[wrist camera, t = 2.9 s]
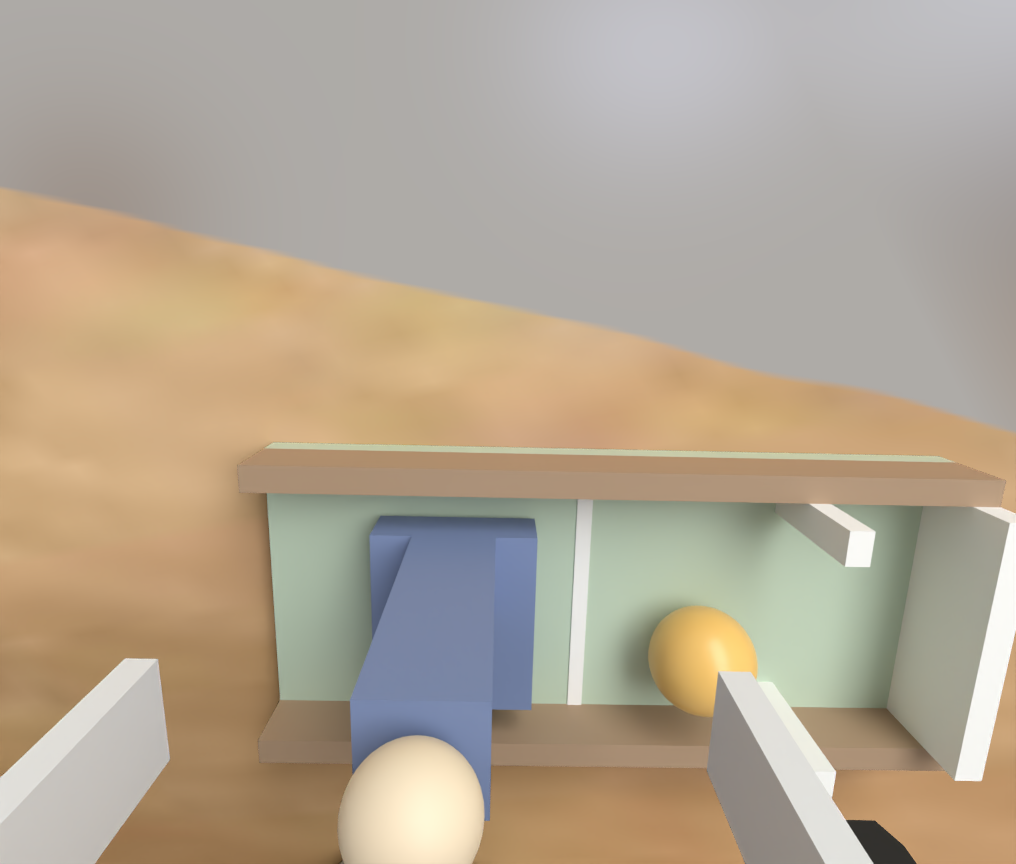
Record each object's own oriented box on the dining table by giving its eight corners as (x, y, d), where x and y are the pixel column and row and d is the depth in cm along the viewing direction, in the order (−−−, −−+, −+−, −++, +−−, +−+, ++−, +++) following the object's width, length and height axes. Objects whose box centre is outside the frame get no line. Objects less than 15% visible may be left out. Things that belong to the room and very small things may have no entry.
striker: (383, 675, 25) (246, 1119, 11) (380, 515, 23) (216, 808, 10) (528, 677, 25) (561, 1119, 12) (534, 518, 24) (579, 811, 10)
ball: (634, 673, 26) (659, 741, 22) (641, 586, 25) (667, 640, 21) (728, 675, 26) (769, 742, 22) (738, 588, 25) (783, 642, 21)
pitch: (289, 705, 27) (230, 819, 21) (273, 442, 24) (200, 487, 18) (891, 713, 27) (997, 826, 21) (938, 456, 25) (1074, 504, 19)
